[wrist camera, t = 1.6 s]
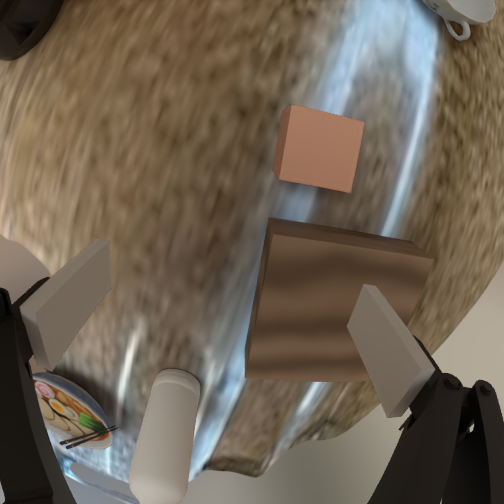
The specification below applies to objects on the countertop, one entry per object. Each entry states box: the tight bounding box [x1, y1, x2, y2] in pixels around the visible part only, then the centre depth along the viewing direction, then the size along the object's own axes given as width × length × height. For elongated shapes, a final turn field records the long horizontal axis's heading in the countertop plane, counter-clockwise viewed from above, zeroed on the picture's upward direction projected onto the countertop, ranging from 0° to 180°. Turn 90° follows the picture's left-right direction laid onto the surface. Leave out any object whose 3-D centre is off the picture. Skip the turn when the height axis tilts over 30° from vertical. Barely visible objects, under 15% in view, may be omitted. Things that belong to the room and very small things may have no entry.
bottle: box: [129, 369, 200, 504], centre depth 31 cm, size 8×8×30 cm
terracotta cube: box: [272, 105, 364, 193], centre depth 28 cm, size 7×7×7 cm
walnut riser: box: [245, 218, 434, 382], centre depth 36 cm, size 20×20×6 cm
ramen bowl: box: [32, 372, 118, 449], centre depth 44 cm, size 25×23×8 cm
